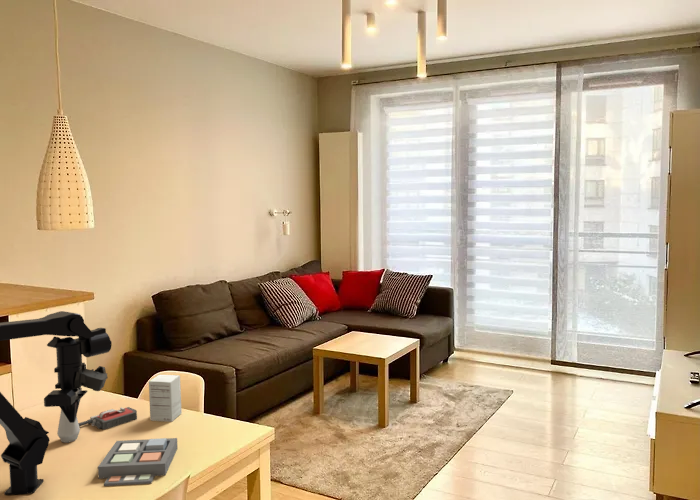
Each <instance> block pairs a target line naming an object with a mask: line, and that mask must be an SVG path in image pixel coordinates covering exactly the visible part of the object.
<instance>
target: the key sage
mask: <svg viewBox="0 0 700 500" xmlns="http://www.w3.org/2000/svg"><path fill="white" fill-rule="evenodd" d="M132 460H133V454H117V455H115V456H114V458H113V459H112V460H111V462H110V464H115V463H131V462H132Z"/></svg>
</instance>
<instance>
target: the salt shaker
mask: <svg viewBox="0 0 700 500" xmlns="http://www.w3.org/2000/svg"><path fill="white" fill-rule="evenodd" d="M78 423H79V419H78V415H77V416H76V420H75V422H73V423H70V422H69V420H68V419H67V417H66V416H65V414H64V412H63V411H62V409H61V408H60V414H59V421H58V426H57V431H56V432H57V436H58V438H59V439H60V441H61V443H68V444H69V443H71V442H72V443H73V442H76V440H77V439H78V438H79V435H80V431H81V428H80V426H79V424H78Z"/></svg>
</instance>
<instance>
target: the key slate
mask: <svg viewBox="0 0 700 500" xmlns="http://www.w3.org/2000/svg"><path fill="white" fill-rule="evenodd" d="M149 439H150V440H149V441H148V443H147V445H146V451H148V450H165V448H166V446H167V438H166V437H164V438H149Z"/></svg>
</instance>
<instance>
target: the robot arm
mask: <svg viewBox="0 0 700 500" xmlns="http://www.w3.org/2000/svg"><path fill="white" fill-rule="evenodd" d="M106 331H107V328H106V327H105V328H104V327H97V328H95V329H90V328H89V327H88V326H87V325H86V323H85V319H84V318H83V316H82V314H80V313H77V312H70V311H64V310H63V311H61V310H60V311H56V312H52V313H50V314H47V315H45V316H44V317H40V318H35V319H34V318H33V319H32V318H31V319H24V320H13V321H4V322H0V342H1V341H9V340H15V339H24V338H32V337H40V336H53V338H52V339H51V340H50V341H48V343H46V347H49V348H52V349H55V351H56V354H55V355H56V367H54V370H53V372H54V373H55V374H57V382H56V383H55V384H54V385H55V386H54V389H53V390H51V392H49V393H48V394H47V395H46V396H45V397H44V398H43V406H44V407H45V408H49V407H53V408H54V407H59V408H60V410H61V409H62V411H63V412H64V414H65V416H66V417H67V419H68V420H69V422H70V423H73V422H75V420H76V416H77V417H78V410H79V406H80V402H81V399H82V398H83V397H85V395H86V394H87V393H88V390H87V389H91V390H92V391H95V392H100V391H101V390H102V389H104V387H105V383H106V382H107V380H108V373H107V369H106V368H105V367H104V366H101V365H99V366H98V367H96V369H95V370H94V369H93V368H92V369H88V368H87V364H86V363H85V362H83V357H85V358H90V357H95V356H98V355H99V356H100V355H102V354H103V355H104V354H107V353H109V352H110V351H111V350H112V346H113V345H112V340H111V338H110V335H109V334H108V333H107V332H106ZM59 336H60V337H59ZM61 337H63V338H61ZM73 337H77V338H73ZM82 387H84V388H87V389H86V390H83V388H82ZM0 426H1V427H2V428H3V429H4V431H5V435H6V439H7V441H8V444H7V447H5V449H3V450H4V451H3V452H1V454H0V457H1V459H2V461H3V463H5V464H8V467H9V468H8V469H9V482H10V483H9V484H10V486H9V487H8V488H7V489H5V491H4V496H5V495H7V496H9V495H25V494H27V495H29V494H33V493H35V492H36V490H38V488H39V487H40V486H41V485H42V484H43V483H44V481H45V480H44V478H38V466H39V465H43V461H44V458H45V455H46V451H47V449H48V447H49V443H50V442H51V441H50V437H49V434H50V432H49V431H47V430H46V429H45V428H44V427H43V425H42V423H40V421H38V420H36V419H33V418H30V417H28V416H25V417H23V416H22V415H21V414H20V413H19V412H18V410H17V409H16V408H15V407H14V406H13V405H12V404H11V403H10V401H9V400H8V399H7V398H6V397H5V395H4V394H3V393H2V391H0Z"/></svg>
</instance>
